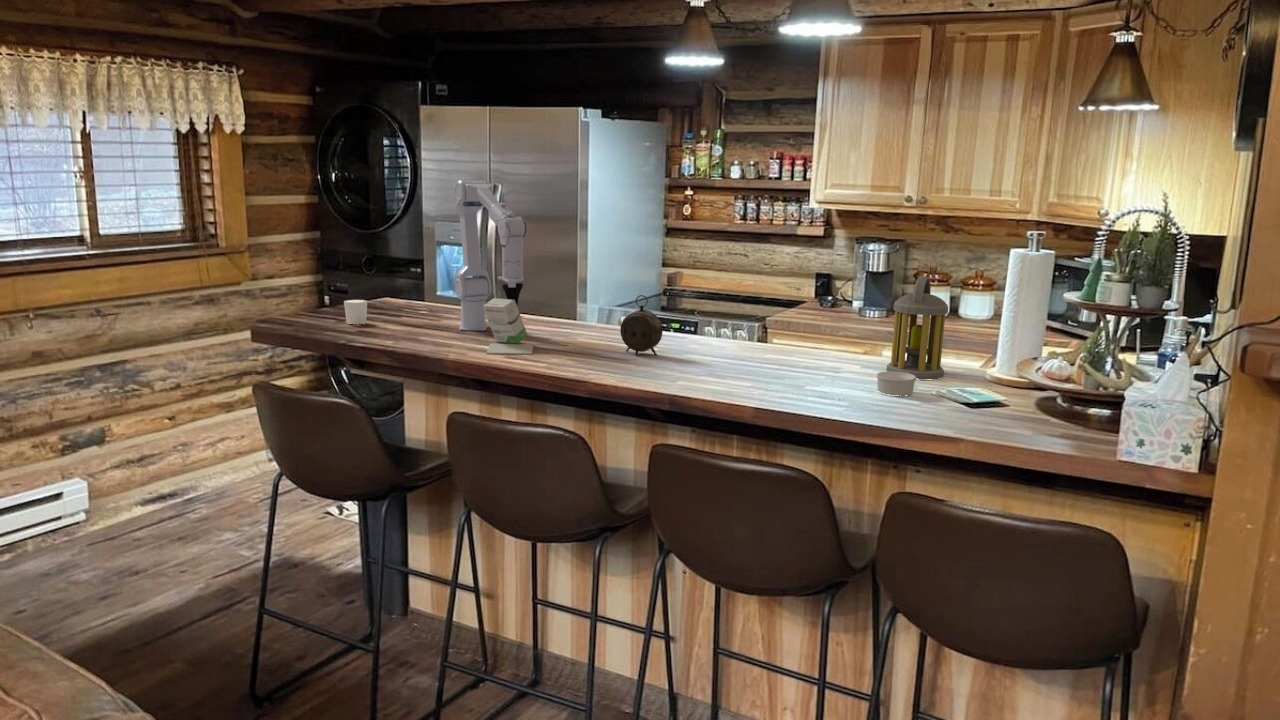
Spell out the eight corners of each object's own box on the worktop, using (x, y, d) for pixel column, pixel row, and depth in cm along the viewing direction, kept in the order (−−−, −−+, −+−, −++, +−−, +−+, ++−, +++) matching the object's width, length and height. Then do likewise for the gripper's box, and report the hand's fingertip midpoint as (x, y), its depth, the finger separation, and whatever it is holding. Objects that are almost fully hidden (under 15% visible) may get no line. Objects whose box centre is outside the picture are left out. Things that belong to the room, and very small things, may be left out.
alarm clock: (662, 354, 258) (664, 295, 254) (654, 358, 253) (656, 298, 250) (625, 350, 262) (627, 292, 259) (617, 354, 257) (618, 294, 254)
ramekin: (891, 399, 217) (893, 381, 216) (867, 390, 225) (869, 372, 224) (922, 396, 221) (924, 378, 220) (898, 387, 229) (899, 370, 228)
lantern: (893, 365, 253) (901, 271, 247) (948, 372, 246) (957, 275, 241) (880, 375, 240) (888, 276, 235) (937, 382, 234) (947, 281, 229)
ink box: (528, 335, 268) (515, 298, 262) (518, 344, 264) (504, 307, 258) (506, 333, 272) (492, 297, 267) (495, 342, 269) (481, 305, 263)
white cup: (364, 325, 288) (363, 303, 286) (341, 325, 288) (340, 302, 286) (370, 322, 295) (370, 299, 293) (348, 321, 295) (347, 298, 293)
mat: (490, 345, 265) (490, 343, 265) (533, 345, 266) (533, 344, 266) (486, 354, 253) (486, 352, 253) (531, 354, 254) (531, 353, 254)
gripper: (499, 258, 270) (499, 305, 273) (496, 264, 256) (497, 313, 259) (524, 258, 271) (524, 305, 274) (523, 264, 257) (523, 314, 260)
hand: (512, 309), depth 267 cm, fingers closed
